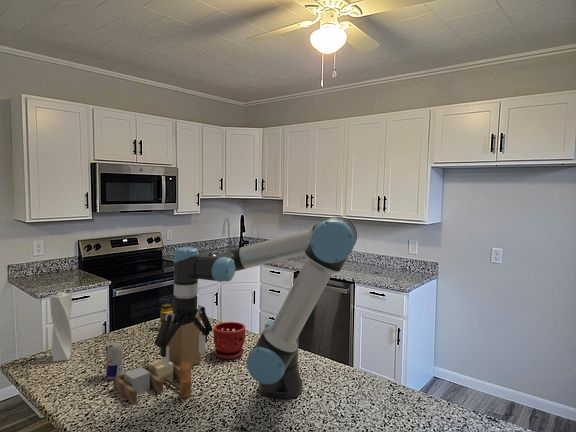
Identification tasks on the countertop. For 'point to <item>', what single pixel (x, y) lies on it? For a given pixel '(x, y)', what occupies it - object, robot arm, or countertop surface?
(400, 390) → the countertop surface
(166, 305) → the condiment
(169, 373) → the corded block
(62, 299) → the skyscraper
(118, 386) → the lane rack
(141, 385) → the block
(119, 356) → the energy drink
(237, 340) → the plant pot
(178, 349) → the wooden block
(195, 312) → the robot arm
